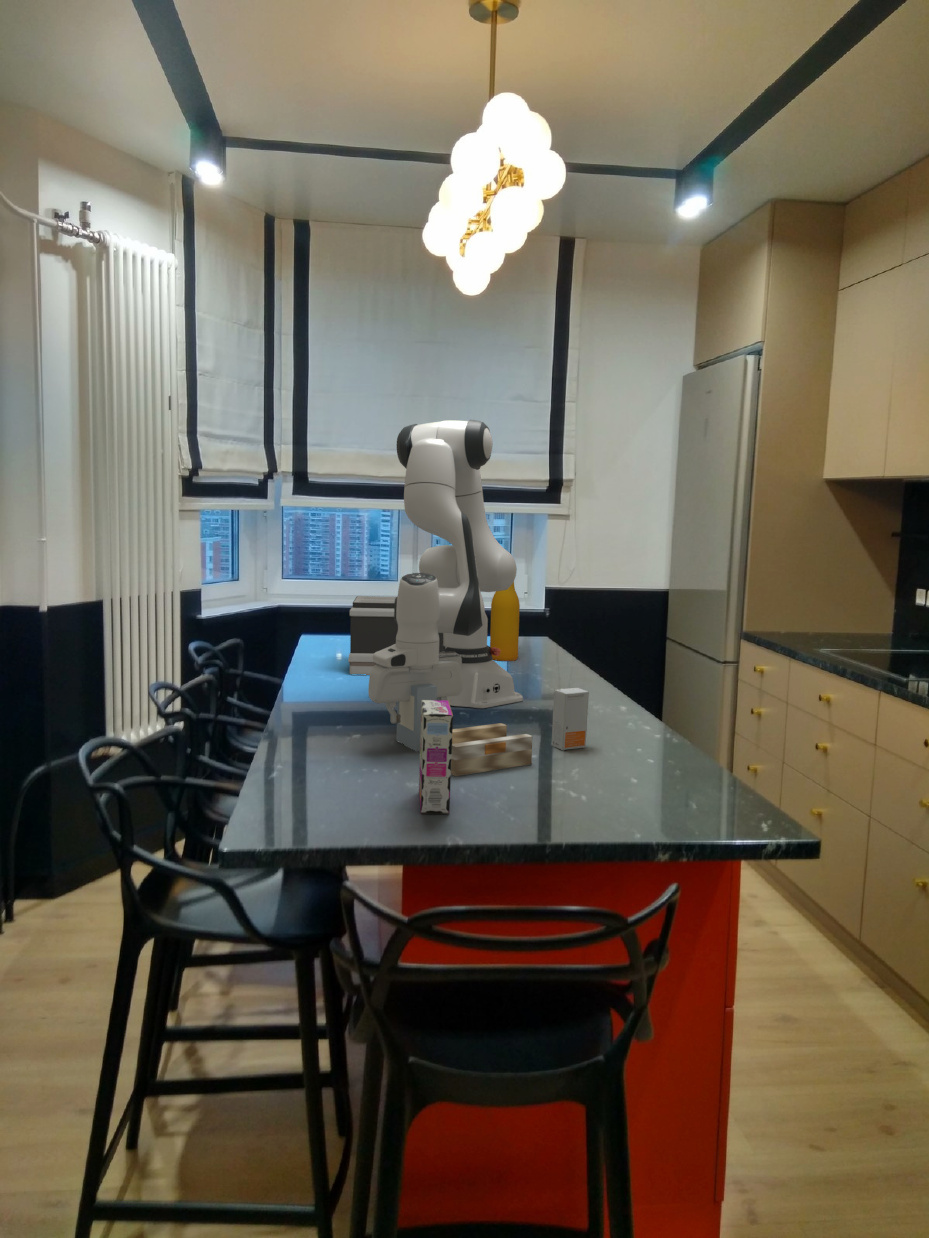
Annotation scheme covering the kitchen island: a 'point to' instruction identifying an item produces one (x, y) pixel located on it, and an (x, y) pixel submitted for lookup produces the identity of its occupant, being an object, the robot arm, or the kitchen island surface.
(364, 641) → the toaster
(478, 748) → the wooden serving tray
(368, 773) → the kitchen island surface
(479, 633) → the robot arm
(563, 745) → the skincare box
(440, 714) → the candy bar box
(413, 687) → the box
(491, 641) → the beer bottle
